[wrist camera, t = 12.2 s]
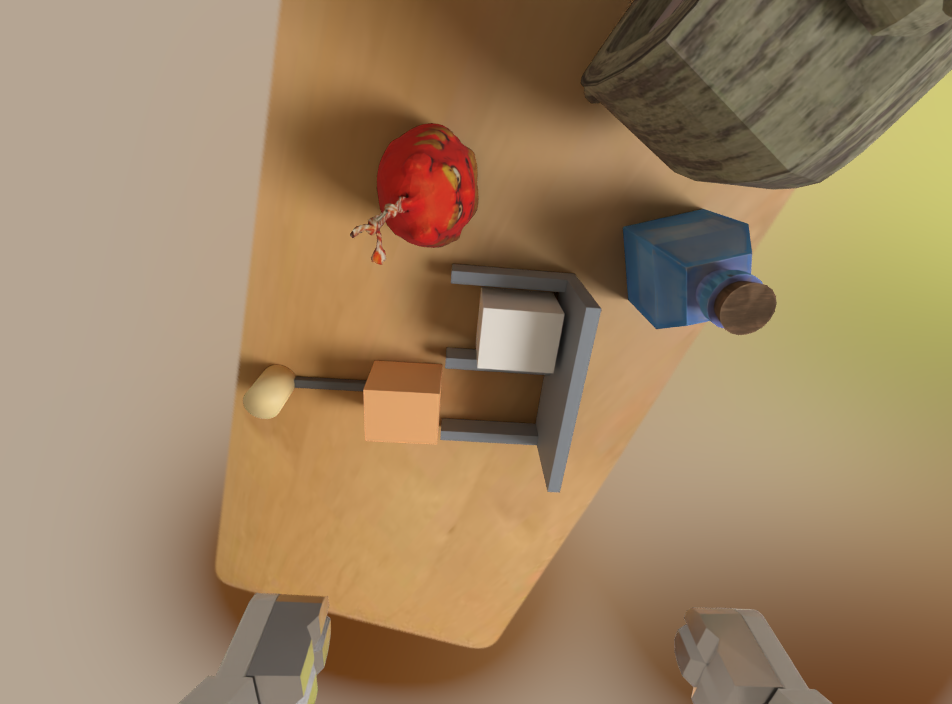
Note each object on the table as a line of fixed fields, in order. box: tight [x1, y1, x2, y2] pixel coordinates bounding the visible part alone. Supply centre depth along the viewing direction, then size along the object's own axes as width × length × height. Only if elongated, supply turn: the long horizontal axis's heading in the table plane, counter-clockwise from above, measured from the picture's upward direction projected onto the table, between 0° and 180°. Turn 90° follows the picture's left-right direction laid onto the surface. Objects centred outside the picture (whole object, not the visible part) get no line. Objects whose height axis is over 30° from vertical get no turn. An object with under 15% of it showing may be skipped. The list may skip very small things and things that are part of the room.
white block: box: [476, 287, 565, 373], centre depth 36 cm, size 5×6×5 cm
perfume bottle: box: [623, 209, 776, 335], centre depth 31 cm, size 6×6×12 cm
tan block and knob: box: [243, 361, 442, 444], centre depth 39 cm, size 5×16×5 cm, turn 85°
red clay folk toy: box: [350, 123, 478, 265], centre depth 27 cm, size 8×7×15 cm
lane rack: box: [440, 264, 601, 492], centre depth 36 cm, size 16×10×8 cm, turn 175°
